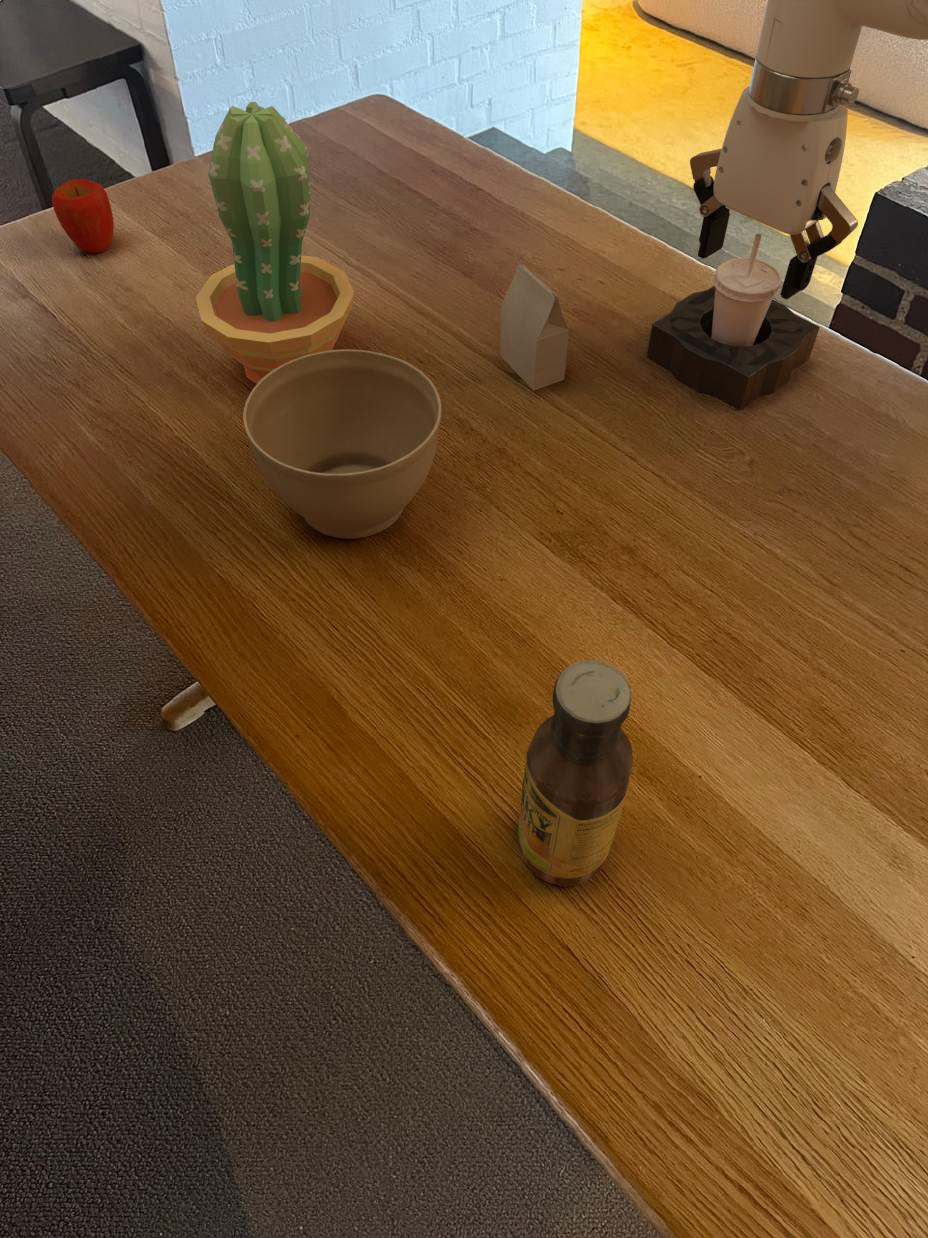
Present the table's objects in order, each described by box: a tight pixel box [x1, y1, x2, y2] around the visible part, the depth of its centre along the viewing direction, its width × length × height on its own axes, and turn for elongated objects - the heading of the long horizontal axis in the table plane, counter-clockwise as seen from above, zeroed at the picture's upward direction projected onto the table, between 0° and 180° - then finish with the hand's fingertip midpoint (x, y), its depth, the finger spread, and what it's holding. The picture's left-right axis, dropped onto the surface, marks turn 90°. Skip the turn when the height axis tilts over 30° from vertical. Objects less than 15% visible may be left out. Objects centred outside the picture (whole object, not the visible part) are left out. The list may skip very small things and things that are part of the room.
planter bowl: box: [242, 348, 443, 540], centre depth 82 cm, size 16×16×11 cm
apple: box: [51, 178, 115, 254], centre depth 111 cm, size 6×6×8 cm
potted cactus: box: [195, 101, 355, 385], centre depth 90 cm, size 15×15×25 cm
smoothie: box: [711, 233, 782, 346], centre depth 95 cm, size 6×6×14 cm
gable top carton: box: [499, 263, 570, 392], centre depth 95 cm, size 4×7×10 cm, turn 29°
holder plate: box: [646, 284, 821, 411], centre depth 99 cm, size 13×13×4 cm
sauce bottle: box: [517, 659, 634, 888], centre depth 58 cm, size 6×6×20 cm
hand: (750, 272), depth 92 cm, fingers open, 9 cm apart
